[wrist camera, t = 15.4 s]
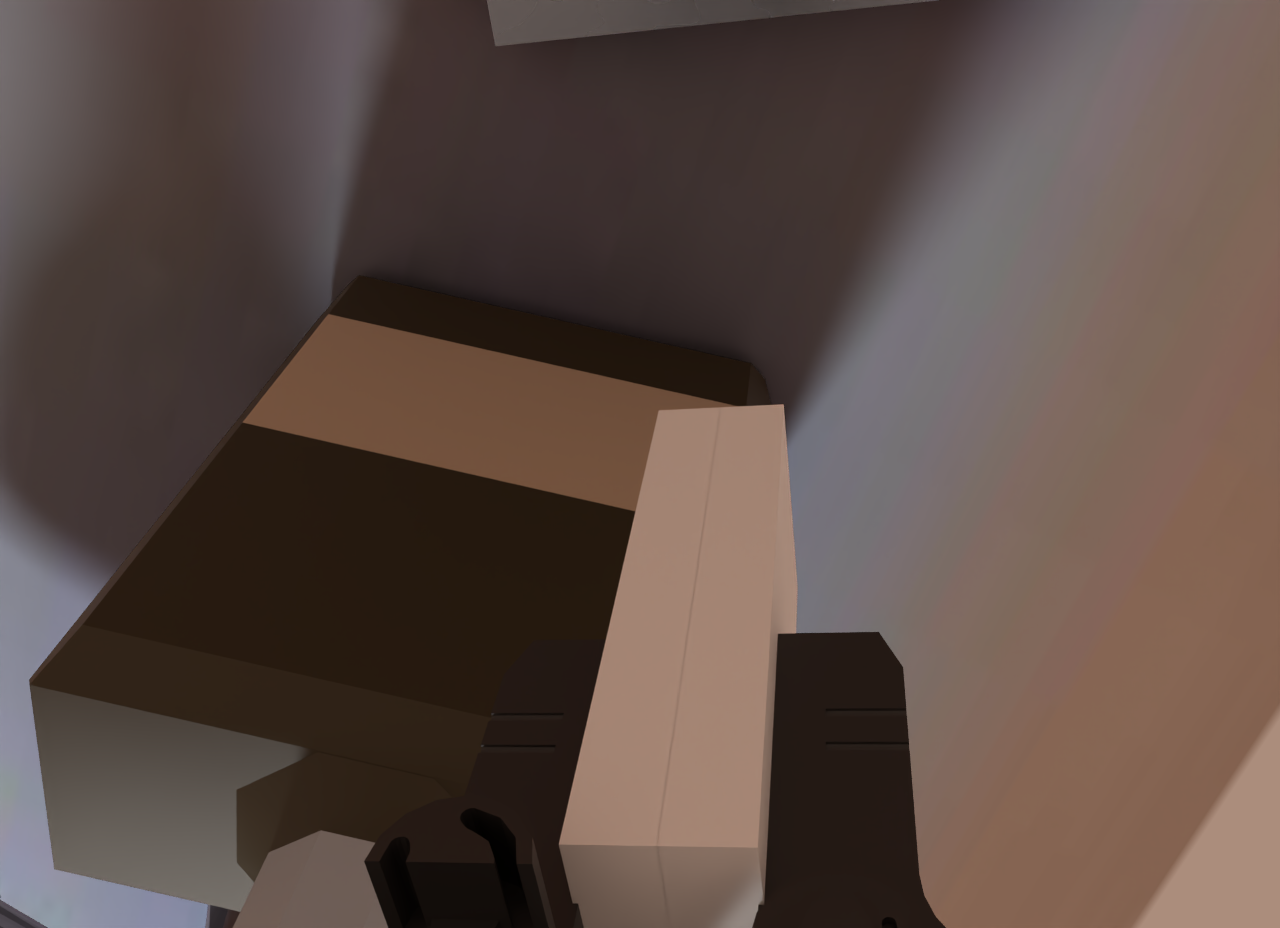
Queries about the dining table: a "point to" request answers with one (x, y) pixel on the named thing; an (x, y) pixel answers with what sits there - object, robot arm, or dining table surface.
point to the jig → (641, 15)
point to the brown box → (351, 597)
